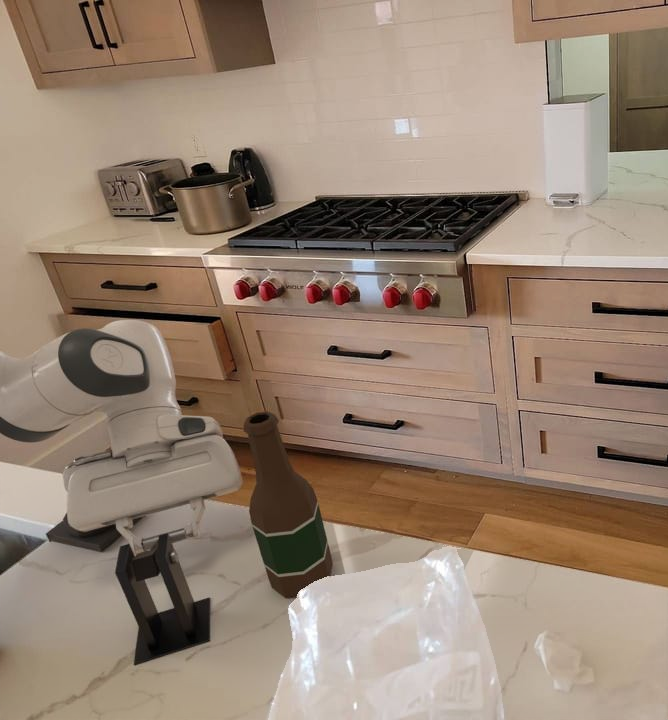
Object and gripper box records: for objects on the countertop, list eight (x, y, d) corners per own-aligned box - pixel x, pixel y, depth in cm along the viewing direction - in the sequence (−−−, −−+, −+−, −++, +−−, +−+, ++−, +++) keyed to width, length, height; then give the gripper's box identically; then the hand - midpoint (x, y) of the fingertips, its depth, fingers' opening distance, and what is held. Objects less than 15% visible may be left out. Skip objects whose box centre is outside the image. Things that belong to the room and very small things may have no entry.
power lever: (147, 552, 84) (142, 534, 84) (189, 540, 86) (185, 522, 86) (122, 586, 72) (116, 564, 72) (172, 571, 73) (166, 550, 73)
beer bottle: (314, 611, 80) (268, 441, 70) (259, 598, 83) (206, 433, 72) (346, 564, 87) (308, 403, 76) (294, 554, 89) (250, 397, 79)
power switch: (142, 625, 81) (106, 542, 75) (212, 603, 83) (182, 521, 77) (136, 671, 75) (97, 585, 69) (212, 647, 77) (180, 561, 71)
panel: (148, 520, 99) (139, 498, 97) (104, 558, 92) (94, 535, 90) (96, 509, 102) (87, 488, 100) (51, 545, 95) (40, 523, 94)
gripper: (50, 456, 82) (64, 569, 78) (225, 414, 88) (246, 519, 84) (70, 466, 88) (84, 573, 84) (233, 427, 94) (253, 525, 90)
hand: (167, 545), depth 84 cm, fingers closed on power lever, 5 cm apart
